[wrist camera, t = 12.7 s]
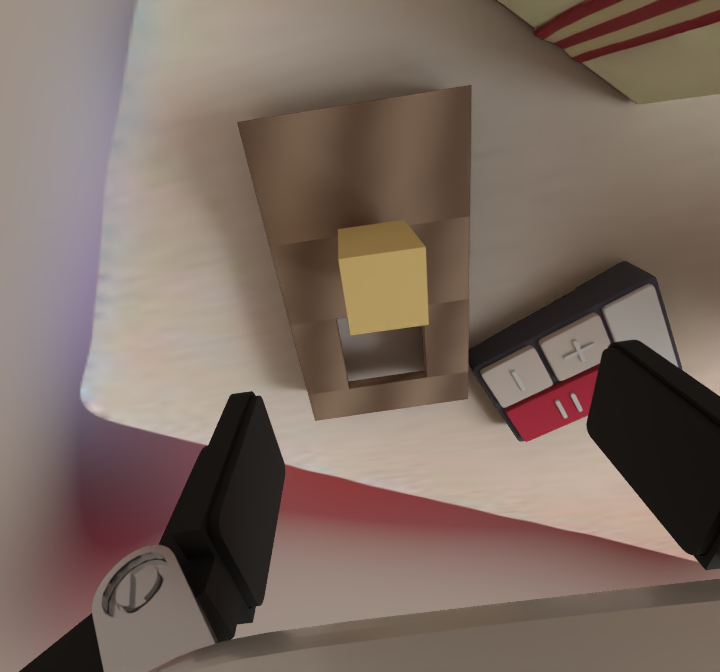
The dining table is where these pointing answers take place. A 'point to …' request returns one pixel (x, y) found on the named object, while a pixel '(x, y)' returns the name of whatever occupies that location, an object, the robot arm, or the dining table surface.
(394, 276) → the peg
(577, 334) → the calculator
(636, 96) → the gift box
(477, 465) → the dining table surface
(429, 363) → the keyhole board
